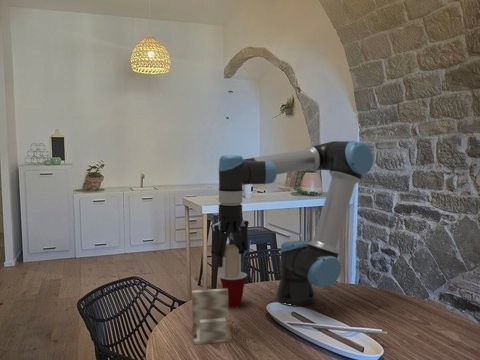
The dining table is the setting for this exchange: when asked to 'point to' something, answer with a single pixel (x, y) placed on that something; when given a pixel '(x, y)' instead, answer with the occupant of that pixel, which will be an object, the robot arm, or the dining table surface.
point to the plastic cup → (234, 288)
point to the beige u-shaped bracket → (210, 316)
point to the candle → (231, 261)
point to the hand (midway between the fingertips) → (229, 274)
